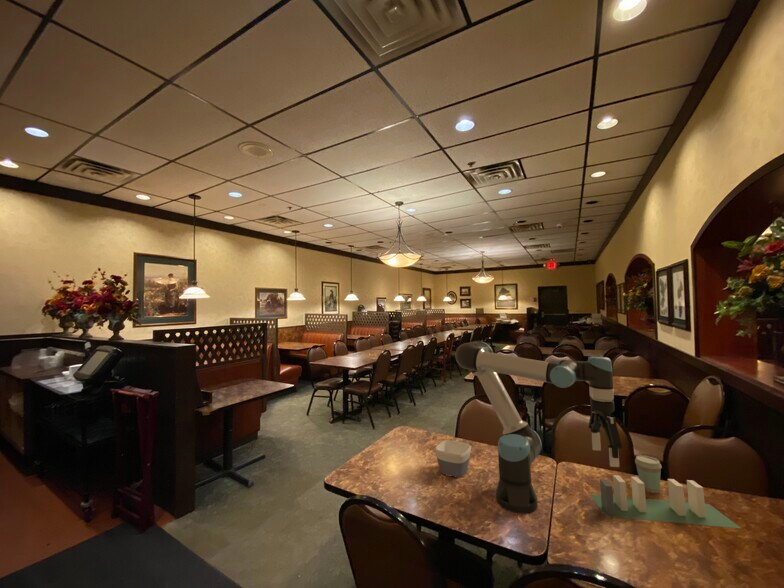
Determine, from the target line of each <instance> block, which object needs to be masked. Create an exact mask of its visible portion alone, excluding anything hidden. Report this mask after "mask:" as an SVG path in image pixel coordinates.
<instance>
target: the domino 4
mask: <svg viewBox="0 0 784 588" xmlns="http://www.w3.org/2000/svg"><path fill="white" fill-rule="evenodd" d="M686 490H687V491H686V492H687V498H688V499H687V501H688V502H689V509H690V510H691V511H692V512H694V513H695V514H696V515H697V516H698V517H702V518H706V512H705V504H706V503H705V494H704V493H705V491H704V487H703V486H701V485H700V484H698V483H697V482H696V481H695V480H693V479H692V480H691V479H690V480H689V479H686Z"/></svg>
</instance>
